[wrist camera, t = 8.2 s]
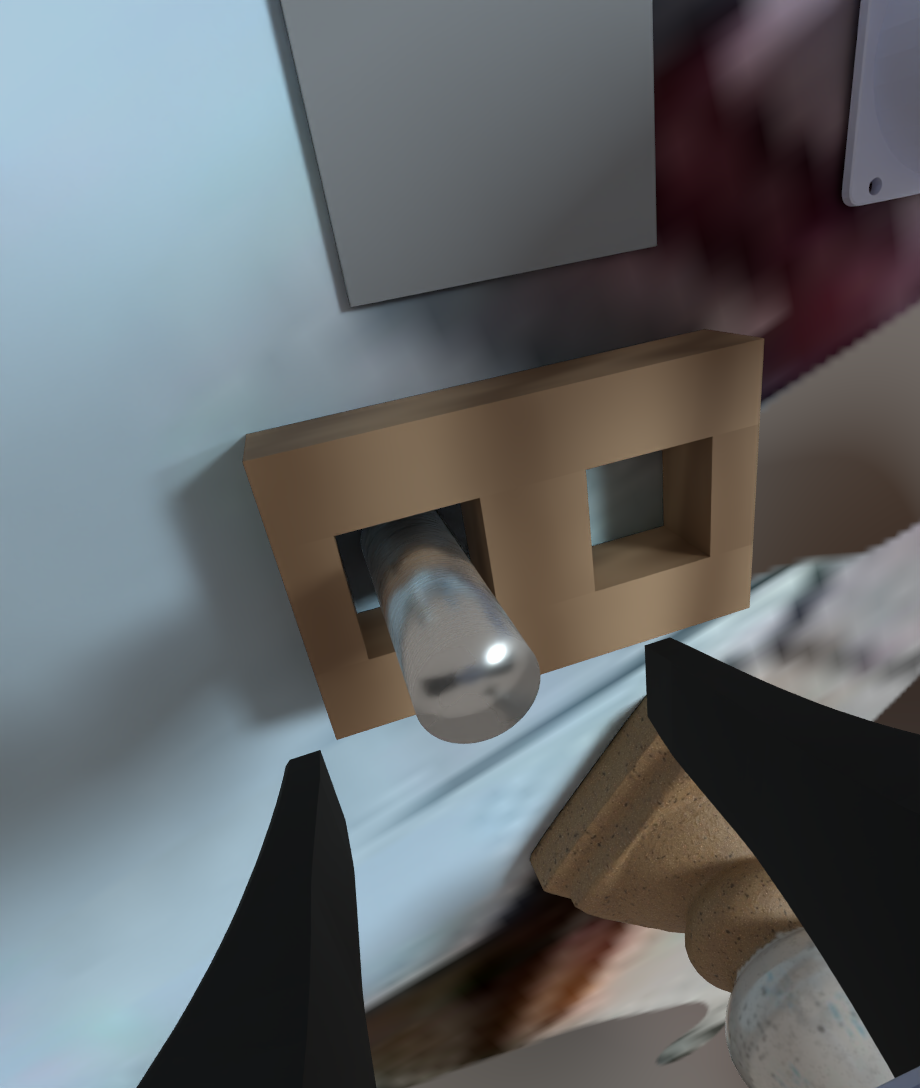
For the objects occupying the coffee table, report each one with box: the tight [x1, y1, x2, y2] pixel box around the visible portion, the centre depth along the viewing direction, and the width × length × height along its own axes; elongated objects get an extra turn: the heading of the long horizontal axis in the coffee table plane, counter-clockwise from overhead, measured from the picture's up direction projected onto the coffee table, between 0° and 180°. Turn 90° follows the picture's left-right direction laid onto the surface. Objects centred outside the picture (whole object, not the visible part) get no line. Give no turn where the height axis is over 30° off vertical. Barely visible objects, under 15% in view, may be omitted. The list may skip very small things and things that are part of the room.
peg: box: [361, 510, 540, 744], centre depth 18 cm, size 3×3×9 cm
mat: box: [280, 0, 657, 307], centre depth 17 cm, size 10×10×1 cm
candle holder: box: [530, 697, 894, 1088], centre depth 21 cm, size 11×11×24 cm
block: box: [242, 329, 764, 740], centre depth 21 cm, size 16×10×3 cm, turn 100°
